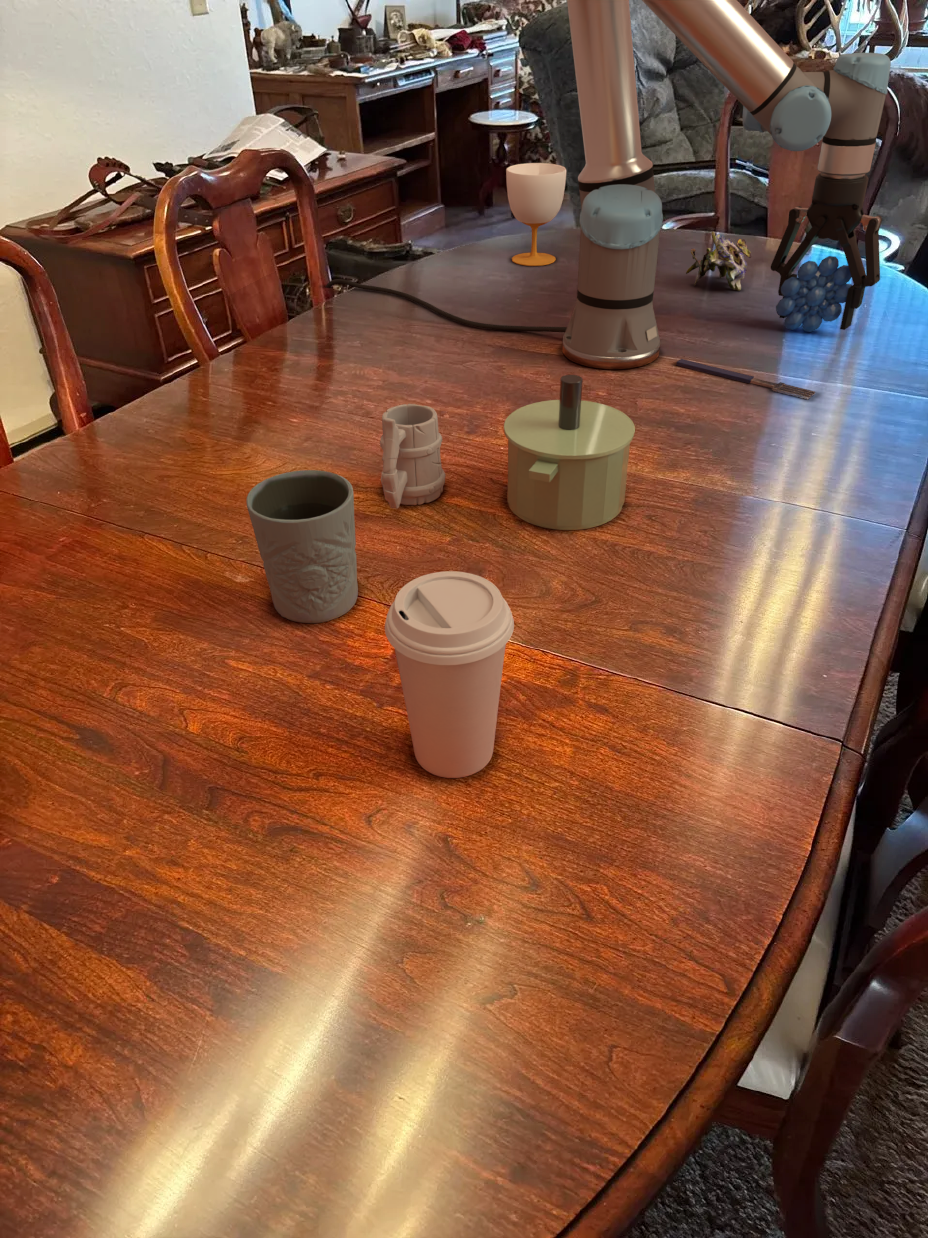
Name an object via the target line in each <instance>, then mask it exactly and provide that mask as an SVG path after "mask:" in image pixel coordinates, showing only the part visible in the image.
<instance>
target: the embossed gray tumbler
mask: <svg viewBox="0 0 928 1238" xmlns="http://www.w3.org/2000/svg"><path fill="white" fill-rule="evenodd" d="M245 501H246V509H247V511H248V516H249V519H250V522H251V523H250V524H251V526H252V529H253V533H254V537H255V541H256V545H257V548H258V551H259V555H260V558H261V560H262V561H263V565H262V566H263V570H264V573H265V578H266V581H267V584H268V587H269V591H270V594H271V600H272V603H273V607H274V609H275V610H276V612H277V613H278V615H280V616H281V617H282V618H285V619H287V620H288V621H289V620H290V621H292V622H297V623H303V624H304V623H305V624H320V623H325V622H329V621H332V620H336V619H338V618H339V617H342V616H343V615H346V614H347V613H348V612H350V610H351V609H353V608H354V606H355V604H356V602H357V600H358V596H359V584H358V564H357V563H358V562H357V552H356V546H357V542H356V540H357V539H356V537H357V536H356V521H355V493H354V488H353V485H352V483H351V482H350V481H349V480H348V479H347V478H345V477H344V476H342V475H340V474H337V473H335V472H331V471H326V470H318V469H303V470H293V471H287V472H283V473H279V474H276V475H273V476H271V477H268V478H266V479H264V480H261V481H260V482H259V483H257V484H256V485H254V486H253V487H251V489H250V491H249V492H248V493H247V496H246V500H245Z"/></svg>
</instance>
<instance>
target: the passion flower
mask: <svg viewBox="0 0 928 1238" xmlns="http://www.w3.org/2000/svg"><path fill="white" fill-rule="evenodd" d="M710 235H711V238H712V239H711V240H712V242H713V245H714V246H715V249H713V251H711V249H712V248H710V247H706V253H705V254H704V255H703V257H702V259H700V260H698V259H697V257H696V251H697V250H696V249H695V248H691V249H690V254H691V255H692V259H693V260H695V262H694V263H692V265H691V266H690V267H688V268H687V270H686V272H685V274H686V275H687V274H689V273H691V272H692V271H694V270H696V269H698V270H697V274H696V277H695V280H694V281H695V282H694V284H693V286H694V287H695V286H696V284H697V283H698V281H699V280H701V278H703V277H704V276H705V275H706V274H707V272H708V271H711V272H712V273H713V272H715V270H716V267H717V270H718V272H719V279H722V278H724V277H725V279H726V281H727V285H728V287H729V288H730V289H732V290H733V291H737V292H739V291H741V290H742V285H741V281H742V280H743V279H744V278H745V275H746V273H747V267H748V262H747V261H746V260H745V256H746V257H747V258H749V259H751V258H752V252H751V251H750V249H749V248H748V246H747V241H746V240H745V238H744V239H741V238H739V239H737V242H736V243H734V241H731V239H730V237H728V238H726V237H724V235H720V234H717V235H716V233H715V231H711V232H710ZM744 255H745V256H744Z"/></svg>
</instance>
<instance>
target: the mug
mask: <svg viewBox="0 0 928 1238" xmlns="http://www.w3.org/2000/svg"><path fill="white" fill-rule="evenodd" d="M381 425H382V426H381V427H382V435H381V436H380V440H379V447H380V448H381V450H382V458H381V460H382V471H381V475H380V483H381V486H382V491H383V494H384V499H385V501H386V502H387V503H388V505H389V508H390V509H394V510H395V509H398V508H400V505H403V506H404V505H405V506H417V505H423V504H424V503H425V504H428V503H432V502H434V501H436V500H437V499H439V498H440V496H441V494H442V493H443V491H444V486H445V483H446V475H447V474H446V472H445V470H444V469H443V468H442V467H443V466H442V459H441V458H442V457H441V446H442V443H443V436H442V434H441V433H440V430H439V419H438V413H437V411H436V410H435V408H433V407H431V406H428V405H421V404H416V403H404V404H398V405H394V406H391V407H389V408H387V409H386V410H385V411H384V412H382V415H381Z"/></svg>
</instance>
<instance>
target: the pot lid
mask: <svg viewBox="0 0 928 1238" xmlns="http://www.w3.org/2000/svg"><path fill="white" fill-rule="evenodd" d="M559 381H560V383H559V399H549V400H543V401H538V402H533V403H530V404H527V405H524V406H521V407H519V408H517V409H516V410H513V411H512V412H511V413H510V414H509V415H508V416H507V417H506V418H505V420H504V423H503V433H504V436H505V438H506V439H507V441H508V440H509V441H510V442H511V443H512V444H513V445H515V446H516V447H518V448H520V449H522V450H524V451H526V452H529V453H532V454H535V455H538V456H543V457H548V458H555V459H572V460H575V459H590V458H596V457H602V456H606V455H609V454H612V453H615V452H617V451H619V450H621V449H623V448H625V447H626V446H627V445H628V444H630V445H631V442H632V441H633V440H634V438H635V434H636V427H635V426H636V425H635V424H634V422H633V420H632V419H631V417H629V416H628V415H627V414H626V413H624V412H623V411H621V410H620V409H617V408H615V407H613V406H610V405H607V404H605V403H604V404H603V403H599V402H595V401H590V400H582V396H583V383H584V382H583V381H584V379H583V377H582V376H580V375H576V374H566V375H565V374H564V375H562V376H561V377H560V379H559Z"/></svg>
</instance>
